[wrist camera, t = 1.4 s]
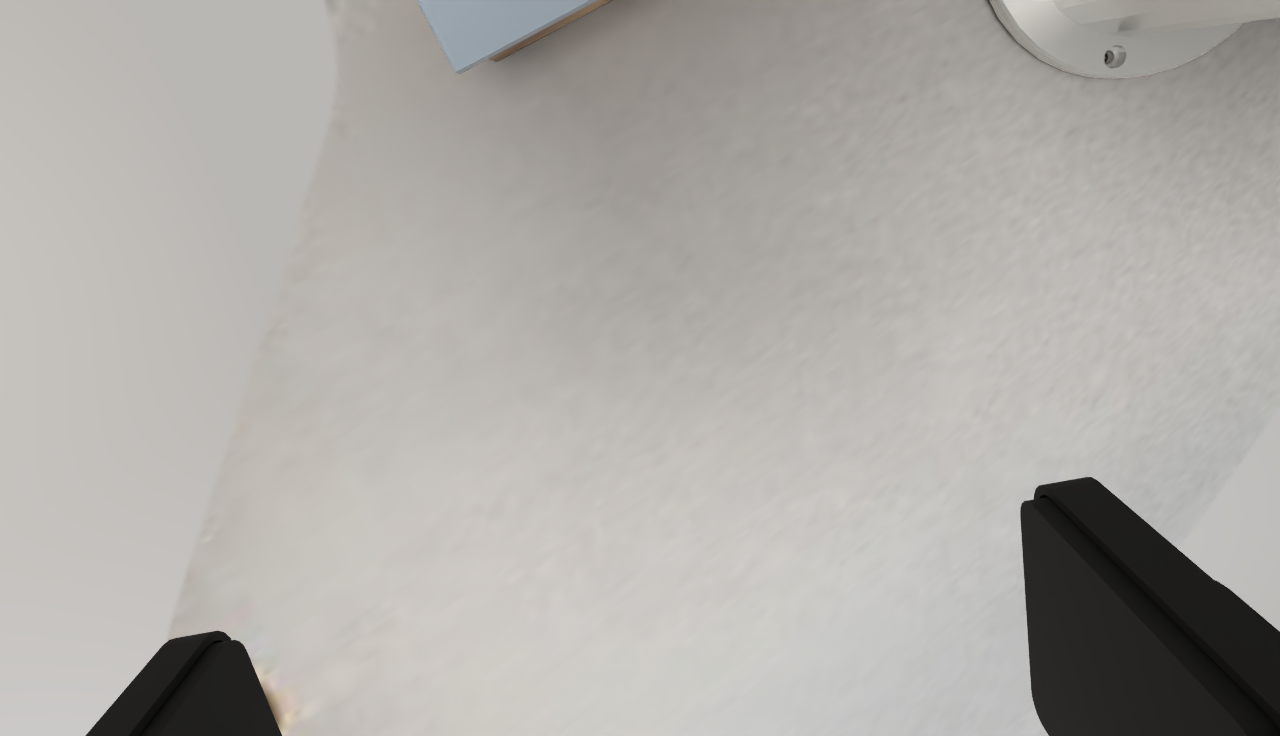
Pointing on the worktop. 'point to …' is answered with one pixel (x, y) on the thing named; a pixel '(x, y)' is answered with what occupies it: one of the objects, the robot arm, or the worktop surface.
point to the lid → (490, 25)
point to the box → (549, 30)
